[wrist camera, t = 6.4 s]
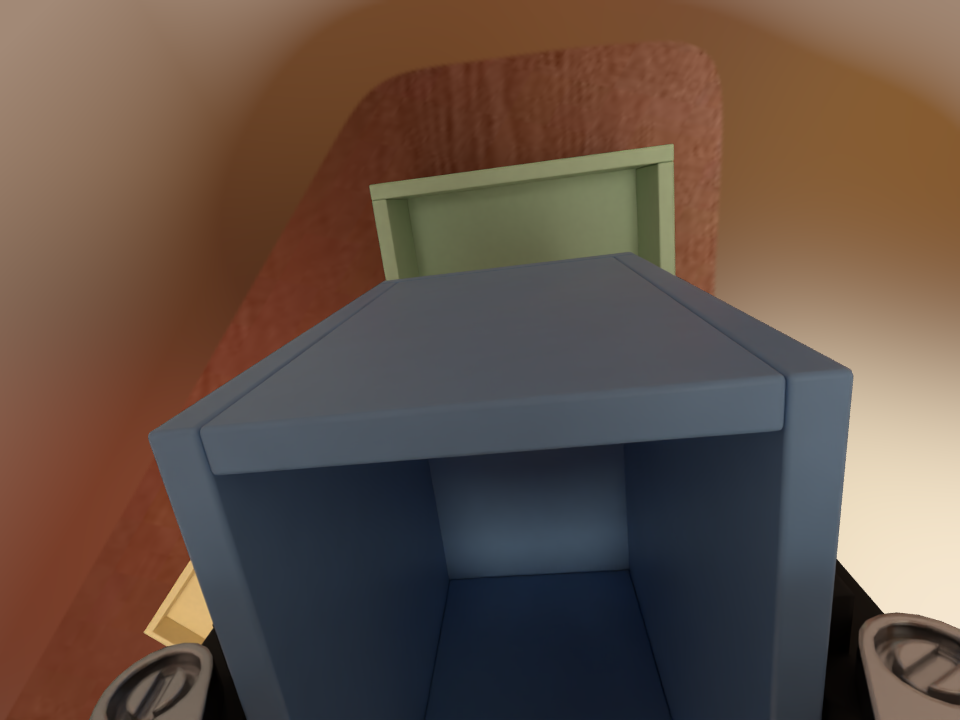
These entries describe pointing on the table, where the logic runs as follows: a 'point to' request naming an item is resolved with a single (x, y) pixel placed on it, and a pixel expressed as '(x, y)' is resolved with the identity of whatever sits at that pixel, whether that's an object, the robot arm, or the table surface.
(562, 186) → the green bin
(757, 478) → the blue bin
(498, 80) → the table surface
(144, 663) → the robot arm
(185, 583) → the tray
